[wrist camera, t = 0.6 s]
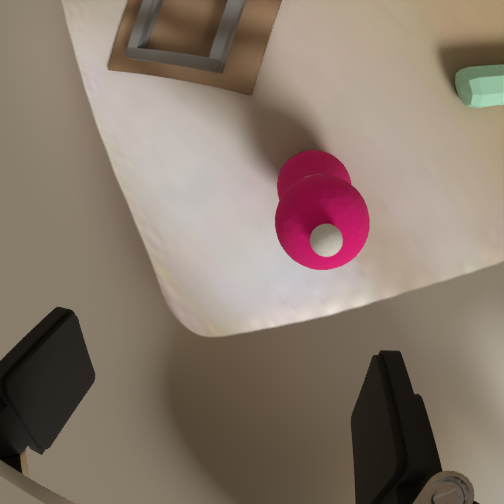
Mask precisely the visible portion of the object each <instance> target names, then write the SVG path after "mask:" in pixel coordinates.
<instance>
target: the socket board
mask: <svg viewBox="0 0 504 504" xmlns="http://www.w3.org/2000/svg"><path fill="white" fill-rule="evenodd" d="M281 1H282V0H129V2H128V5H127V8H126V11H125V14H124V17H123V20H122V23H121V26H120V29H119V32H118V35H117V38H116V42H115V45H114V48H113V52H112V55H111V59H110V63H109V66H108V70H112V71H122V72H130V73H138V74H146V75H153V76H159V77H166V78H172V79H177V80H183V81H188V82H194V83H199V84H204V85H208V86H213V87H218V88H222V89H227V90H231V91H235V92H239V93H243V94H247V95H252V92H253V88H254V85H255V82H256V79H257V75H258V72H259V69H260V66H261V62H262V59H263V56H264V53H265V50H266V47H267V43H268V40H269V37H270V34H271V31H272V28H273V25H274V22H275V19H276V16H277V13H278V10H279V7H280V4H281Z"/></svg>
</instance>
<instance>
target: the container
mask: <svg viewBox="0 0 504 504" xmlns="http://www.w3.org/2000/svg"><path fill="white" fill-rule="evenodd" d="M455 86H456V90H457V93H458V96H459V98H460V99H461V100H462V102H463V103H464V105H466V106H469V107H472V108H480V107H487V106H495V105H502V104H504V64H502V65H486V66H474V67H467V68H463V69H461V70H459V71H458V72H457V73H456V76H455Z"/></svg>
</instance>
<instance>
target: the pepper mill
mask: <svg viewBox="0 0 504 504" xmlns="http://www.w3.org/2000/svg"><path fill="white" fill-rule="evenodd" d="M277 191H278V196H279V200H280V201H279V203H278V207H277V210H276V215H275V228H276V233H277V237H278V240H279V242H280V244H281V246H282V247H283V249H284V250H285V252H286V253H287V254H288V255H289V256H290V257H291V258H292V259H293V260H294V261H296V262H298V263H299V264H301V265H303V266H306V267H308V268H311V269H316V270H328V269H333V268H337V267H339V266H342V265H344V264H346V263H348V262H350V261H351V260H352V259H353V258H354V257H356V255H357V254H358V253H359V252H360V251H361V249H362V248H363V246H364V244H365V242H366V239H367V237H368V233H369V214H368V209H367V206H366V203H365V201H364V199H363V197H362V196H361V194H360V193H359V192H358V191H357V190H356V188H354V187H353V186H352V185H351V180H350V177H349V174H348V172H347V170H346V168H345V167H344V165H343V164H342V163H341V162H340V161H339V160H338V159H337V158H336V157H334V156H333V155H331V154H329V153H326V152H323V151H317V150H310V151H304V152H301V153H299V154H297V155H295V156H293V157H292V158H291V159H289V160H288V161H287V162H286V163H285V165H284V166H283V168H282V169H281V171H280V174H279V177H278V182H277Z"/></svg>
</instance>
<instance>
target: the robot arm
mask: <svg viewBox="0 0 504 504" xmlns="http://www.w3.org/2000/svg"><path fill="white" fill-rule="evenodd" d="M94 380H95V372H94V369H93V366H92V363H91V360H90V357H89V354H88V351H87V348H86V344H85V341H84V338H83V334H82V331H81V328H80V324H79V320H78V318H77V316H76V315H75V313H74V312H73V311H72V310H70V309H65V308H62V307H56V308H55V309H54V310H53V311H52V312H50V313H49V314H48V315H47V316H46V317H45V318H44V319H43V320H42V321H41V322H40V323H39V324H38V325H36V327H34V328H33V329H32V330H31V331H30V332H29V333H28V334H27V335H26V336H25V337H24V338H23V339H22V340H21V341H20V342H19V343H18V344H17V345H16V346H15V347H14V348H13V349H12V350H11V351H10V352H9V353H8V354H7V355H6V356H5V357H4V358H3V359H2V360H1V361H0V504H76V503H74V502H72V501H70V500H68V499H66V498H64V497H62V496H60V495H58V494H56V493H54V492H52V491H51V490H49V489H47V488H45V487H43V486H41V485H40V484H38V483H36V482H35V481H33V480H31V479H30V478H29V471H28V464H27V457H26V447H27V446H29V447H30V449H32V450H34V451H36V452H37V453H39V454H41V455H42V454H43V452H44V451H45V449H48V448H50V446H51V445H52V443H53V442H54V440H55V439H56V437H57V436H58V434H59V433H60V431H61V430H62V428H63V427H64V425H65V424H66V422H67V421H68V419H69V418H70V416H71V415H72V413H73V412H74V410H75V409H76V407H77V406H78V404H79V403H80V401H81V400H82V399H83V397H84V396H85V394H86V393H87V391H88V390H89V388H90V387H91V385H92V384H93V383H94ZM351 431H352V443H353V459H354V476H355V496H356V498H355V499H356V504H479V503H477V502H476V501H474V489H473V486H472V483H471V482H470V481H469V479H468V478H467V477H465V476H464V475H463V474H461V473H458V472H455V471H442V467H441V463H440V459H439V455H438V451H437V448H436V444H435V440H434V437H433V433H432V429H431V426H430V422H429V419H428V415H427V412H426V409H425V405H424V402H423V399H422V397H421V396H420V395H419V394H414V392H413V389H412V386H411V382H410V379H409V376H408V373H407V370H406V367H405V364H404V361H403V358H402V355H401V352H400V351H387V350H386V351H385V350H382V351H380V352H379V354H378V355H374V356H373V357H372V359H371V363H370V366H369V369H368V371H367V374H366V377H365V381H364V383H363V386H362V389H361V391H360V394H359V397H358V400H357V402H356V405H355V407H354V410H353V413H352V416H351Z"/></svg>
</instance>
